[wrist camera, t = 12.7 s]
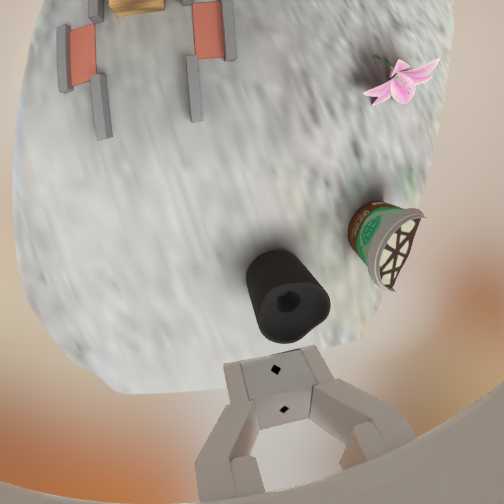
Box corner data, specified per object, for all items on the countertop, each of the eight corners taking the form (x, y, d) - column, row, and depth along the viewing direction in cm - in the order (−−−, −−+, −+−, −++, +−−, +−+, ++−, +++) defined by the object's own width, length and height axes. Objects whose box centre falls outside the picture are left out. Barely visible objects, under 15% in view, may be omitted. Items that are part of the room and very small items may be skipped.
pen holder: (300, 297, 48) (324, 337, 39) (243, 304, 46) (257, 348, 37) (306, 244, 44) (335, 278, 35) (242, 249, 42) (258, 287, 33)
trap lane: (225, -53, 23) (230, -71, 18) (239, 116, 34) (247, 116, 30) (65, -23, 20) (53, -36, 15) (71, 147, 31) (56, 152, 27)
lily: (329, 87, 36) (376, 121, 30) (360, 16, 27) (417, 39, 22) (380, 104, 41) (423, 135, 36) (409, 46, 33) (457, 72, 28)
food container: (356, 183, 41) (396, 203, 32) (386, 193, 43) (428, 214, 34) (330, 258, 46) (361, 292, 37) (360, 263, 48) (394, 295, 39)
